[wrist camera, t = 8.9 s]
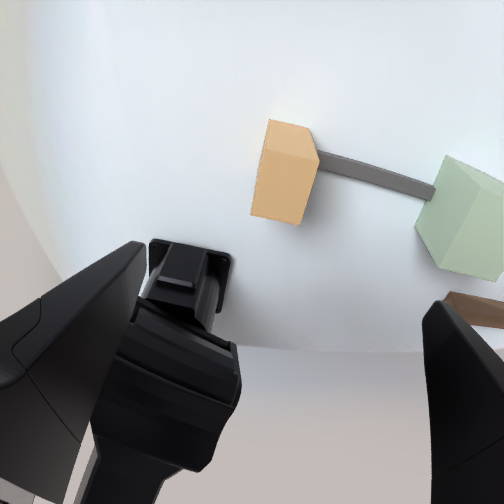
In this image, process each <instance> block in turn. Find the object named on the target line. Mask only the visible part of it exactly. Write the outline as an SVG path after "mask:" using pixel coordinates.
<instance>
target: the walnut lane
mask: <svg viewBox="0 0 504 504" xmlns="http://www.w3.org/2000/svg"><path fill="white" fill-rule="evenodd" d="M444 301H445V302H447V303H448V304H449V305H450V306H451V307H452V308H453V309H454V310H455V311H456V312H457V313H458V314H459V315H460V316H461V317H462V318H463V319H464V320H465V321H466V322H467V323H468V324H469V325H476V326H484V327H492V328H501V329H504V302H500V301H496V300H491V299H486V298H481V297H476V296H471V295H466V294H461V293H456V292H451V291H450V292H449V294H448V295H447V296H446V298H445V299H444Z"/></svg>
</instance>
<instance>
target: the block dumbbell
mask: <svg viewBox="0 0 504 504" xmlns="http://www.w3.org/2000/svg"><path fill="white" fill-rule="evenodd" d="M318 168H319V169H323V170H327V171H331V172H335V173H338V174H342V175H346V176H349V177H353V178H357V179H360V180H364V181H367V182H371V183H374V184H377V185H381V186H384V187H387V188H391V189H394V190H397V191H400V192H404V193H407V194H410V195H413V196H416V197H419V198H422V199H425V200H426V202H425V205H424V207H423V209H422V211H421V213H420V215H419V217H418V219H417V221H416V223H415V228H416V230H417V231H418V233H419V235H420V236H421V238H422V240H423V242H424V244H425V245H426V247H427V249H428V251H429V252H430V254H431V256H432V258H433V260H434V262H435V264H436V265H437V267H438V268H440V269H444V270H449V271H453V272H457V273H461V274H465V275H469V276H473V277H477V278H481V279H485V280H488V281H492V282H496V281H497V279H498V278H499V276H500V275H501V273H502V272H503V270H504V183H503V182H502V181H500V180H498V179H496V178H494V177H492V176H490V175H488V174H486V173H484V172H482V171H480V170H478V169H476V168H474V167H472V166H469V165H467V164H465V163H463V162H461V161H459V160H456V159H454V158H452V157H449V156H447V155H446V156H445V159H444V161H443V163H442V166H441V168H440V171H439V173H438V175H437V178H436V180H435V182H434V185H433V186H432V185H430V184H427V183H424V182H421V181H419V180H416V179H413V178H410V177H407V176H404V175H401V174H398V173H395V172H392V171H389V170H386V169H382V168H379V167H376V166H373V165H370V164H366V163H363V162H360V161H356V160H353V159H349V158H346V157H342V156H338V155H335V154H331V153H327V152H323V151H320V150H316V149H315V146H314V142H313V139H312V136H311V133H310V130H309V128H305V127H301V126H297V125H293V124H288V123H284V122H280V121H275V120H271V119H269V122H268V127H267V131H266V136H265V140H264V145H263V149H262V154H261V158H260V163H259V167H258V172H257V178H256V184H255V190H254V196H253V202H252V208H251V214H250V215H252V216H257V217H262V218H267V219H271V220H276V221H281V222H285V223H290V224H295V225H299V226H300V223H301V220H302V217H303V214H304V211H305V207H306V204H307V201H308V198H309V195H310V191H311V188H312V185H313V182H314V179H315V175H316V172H317V169H318Z"/></svg>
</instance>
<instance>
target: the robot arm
mask: <svg viewBox="0 0 504 504" xmlns="http://www.w3.org/2000/svg"><path fill="white" fill-rule="evenodd" d="M154 244H155V245H157V246H158V247H156V246H154ZM222 259H226V261H224V260H222ZM230 262H231V256H230V255H229V254H227V253H224V252H219V251H214V250H209V249H204V248H199V247H194V246H190V245H185V244H180V243H175V242H169V241H165V240H160V239H152V240H151V241H150V243H149V279H148V282H147V284H146V286H145V288H144V290H143V292H142V295H141V297H140V296H138V294H139V291H140V288H141V285H142V282H143V279H144V276H145V273H146V267H147V263H146V245H145V244H144V243H141V242H137V241H130V242H128V243H127V244H125V245H123V246H121V247H120V248H118V249H116V250H115V251H113V252H111V253H110V254H108V255H106V256H105V257H103V258H101V259H100V260H98V261H96V262H95V263H93V264H91V265H90V266H88V267H86V268H85V269H83V270H82V271H80V272H78V273H77V274H75V275H74V276H72V277H70V278H69V279H67V280H66V281H64V282H62V283H61V284H59V285H58V286H56V287H55V288H53V289H52V290H50V291H48V292H47V293H45V294H44V295H42V296H41V299H40V298H38V299H36V300H35V301H33V302H32V303H30V304H29V305H27V306H25V307H24V308H22V309H21V310H19V311H18V312H16V313H14V314H13V315H11V316H9V317H8V318H6V319H4V320H2V321H1V322H0V504H33V501H34V498H35V495H37V496H39V497H41V498H43V499H46V500H48V501H51V502H53V503H55V504H63V501H64V497H65V494H66V491H67V487H68V484H69V480H70V477H71V474H72V471H73V468H74V464H75V462H76V458H77V455H78V452H79V449H80V446H81V444H80V443H82V440H83V437H84V434H85V432H86V429H87V426H88V423H89V420H90V423H91V428H92V433H93V438H94V442H95V446H94V449H93V451H92V454H91V456H90V459H89V462H88V464H87V467H86V470H85V472H84V475H83V478H82V481H81V484H80V486H79V489H78V492H77V495H76V498H75V501H74V504H154V503H155V501H156V498H157V496H158V494H159V491H160V489H161V487H162V485H163V483H164V481H165V480H167V479H168V478H170V477H172V476H173V475H175V474H177V473H178V472H180V471H181V470H183V469H186V470H189V471H193V472H197V473H198V472H200V471H201V470H202V469H203V468H204V467H206V466H207V465H208V464H209V463H210V462H211V460H212V457H213V454H214V451H215V448H216V445H217V442H218V439H219V437H220V434H221V432H222V430H223V428H224V426H225V424H226V422H227V420H228V419H229V418H230V416H231V415H232V413H233V412H234V410H235V408H236V406H237V404H238V401H239V398H240V394H241V388H242V383H241V375H240V368H239V361H238V354H237V347H236V344H235V343H233V342H231V341H228V342H227V341H225V340H223V339H221V338H219V337H217V336H215V335H213V334H211V329H212V325H213V320H214V315H215V313H220V312H221V310H222V304H223V299H224V294H225V289H226V283H227V278H228V273H229V268H230ZM422 333H423V350H424V367H425V376H426V384H427V394H428V404H429V417H430V433H431V462H432V480H431V504H504V362H503V361H502V359H501V358H500V357H499V356H498V355H497V354H496V353H495V352H494V350H493V349H492V348H491V347H490V346H489V345H488V344H487V343H486V342H485V341H484V340H483V339H482V337H481V336H480V335H479V334H478V333H477V332H476V331H475V330H474V329H473V328H472V327H471V326H470V325H469V324H468V323H467V322H466V321H465V320H464V319H463V318H462V317H461V316H460V315H459V314H458V313H457V312H456V311H455V310H454V309H453V308H452V307H451V306H450V305H449V304H448V303H447V302H445V301H439V300H438V301H435V302H434V303H433V304H432V306H431V307H430V309H429V310H428V312H427V313H426V314H425V316H424V317H423V320H422Z"/></svg>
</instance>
